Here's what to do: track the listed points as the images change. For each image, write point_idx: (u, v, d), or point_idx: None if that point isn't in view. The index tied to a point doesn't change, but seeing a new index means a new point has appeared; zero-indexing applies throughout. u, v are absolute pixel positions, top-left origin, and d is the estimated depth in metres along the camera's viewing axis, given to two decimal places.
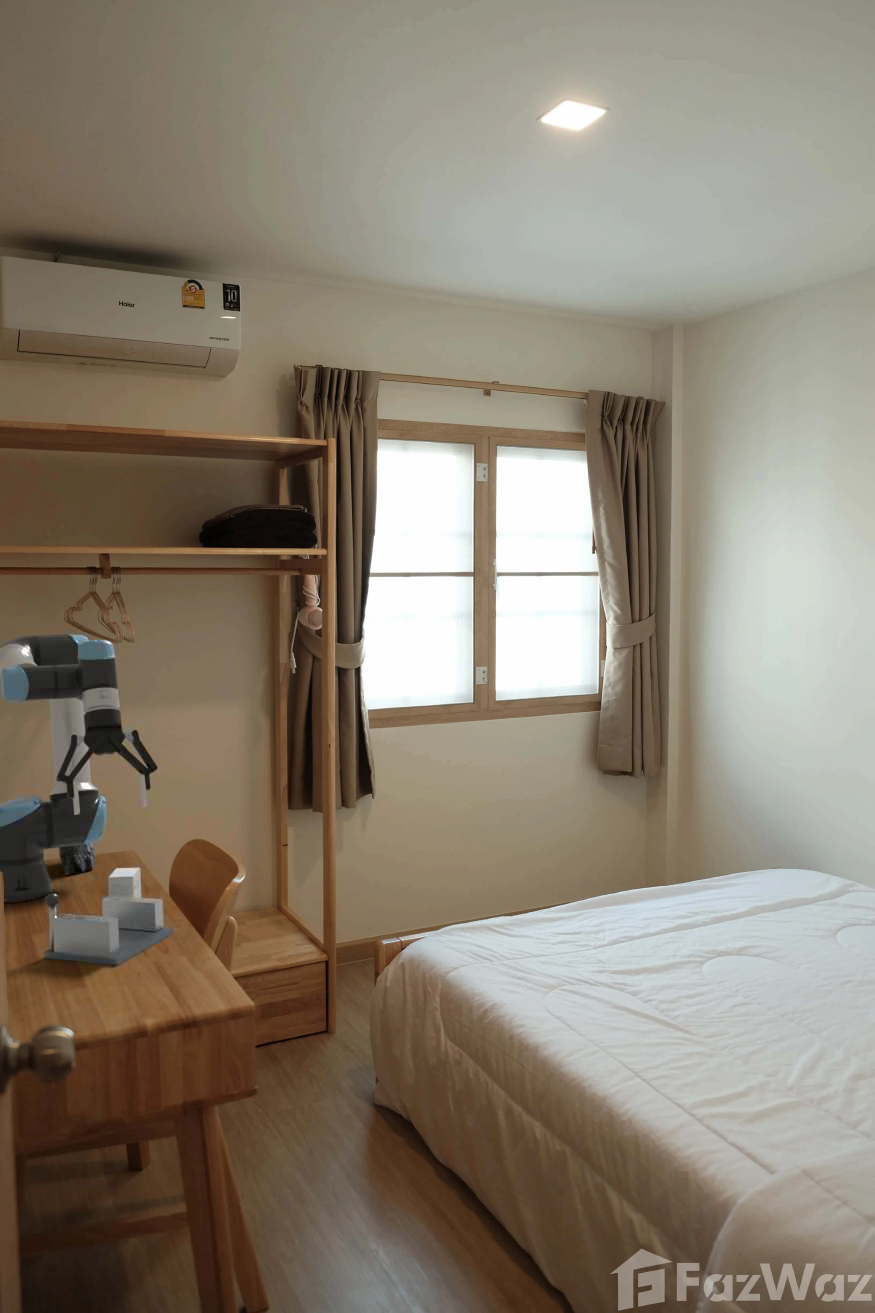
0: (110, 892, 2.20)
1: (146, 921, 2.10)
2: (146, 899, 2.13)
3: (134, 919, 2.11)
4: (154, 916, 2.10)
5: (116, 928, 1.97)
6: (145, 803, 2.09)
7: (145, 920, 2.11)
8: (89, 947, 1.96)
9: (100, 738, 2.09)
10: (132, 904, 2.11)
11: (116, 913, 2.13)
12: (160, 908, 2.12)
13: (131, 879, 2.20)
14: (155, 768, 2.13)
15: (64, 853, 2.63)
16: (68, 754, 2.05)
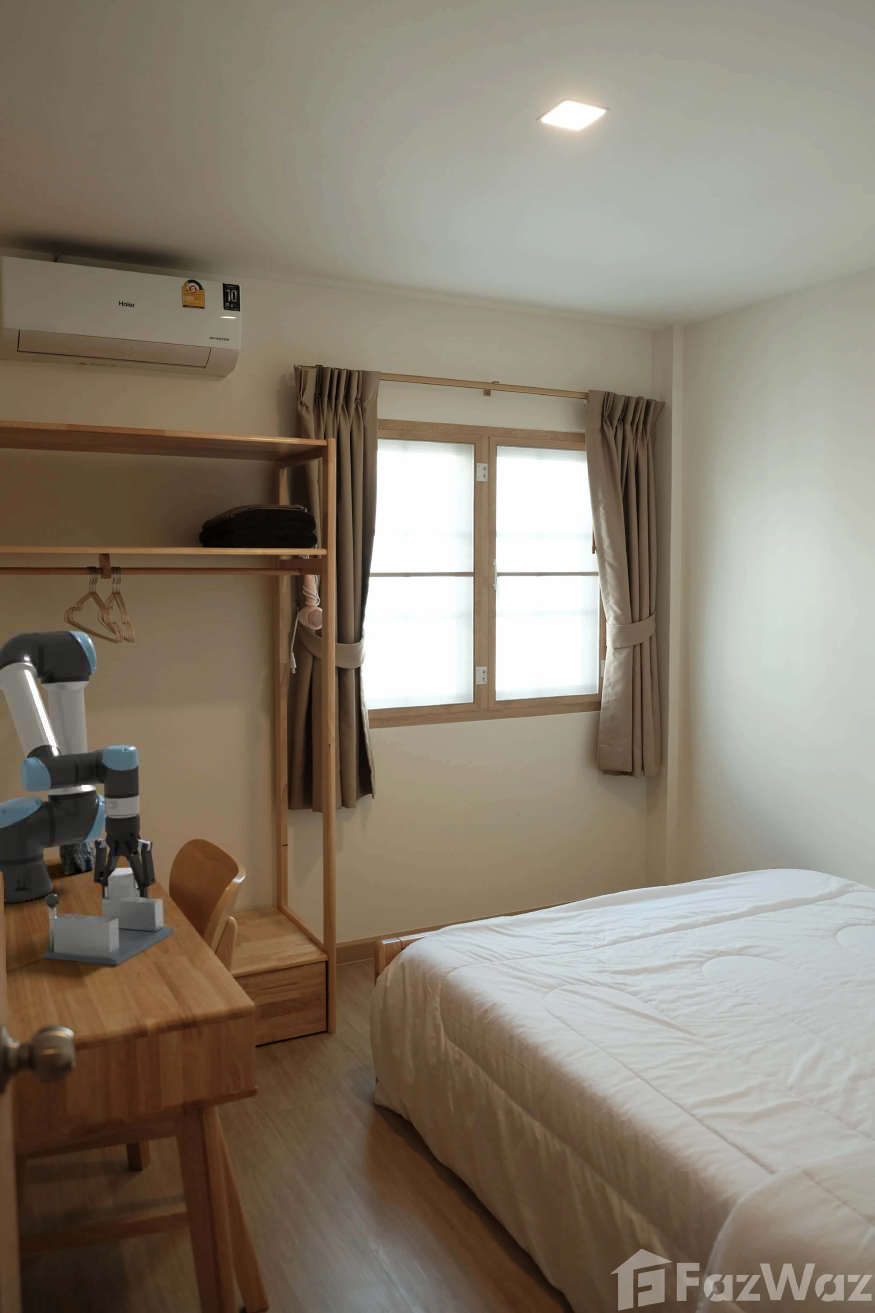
0: (110, 892, 2.20)
1: (146, 921, 2.10)
2: (146, 899, 2.13)
3: (134, 919, 2.11)
4: (154, 916, 2.10)
5: (116, 928, 1.97)
6: None
7: (145, 920, 2.11)
8: (89, 947, 1.96)
9: (113, 843, 2.22)
10: (132, 904, 2.11)
11: (116, 913, 2.13)
12: (160, 908, 2.12)
13: (131, 879, 2.20)
14: (147, 885, 2.21)
15: (64, 853, 2.63)
16: (96, 859, 2.24)
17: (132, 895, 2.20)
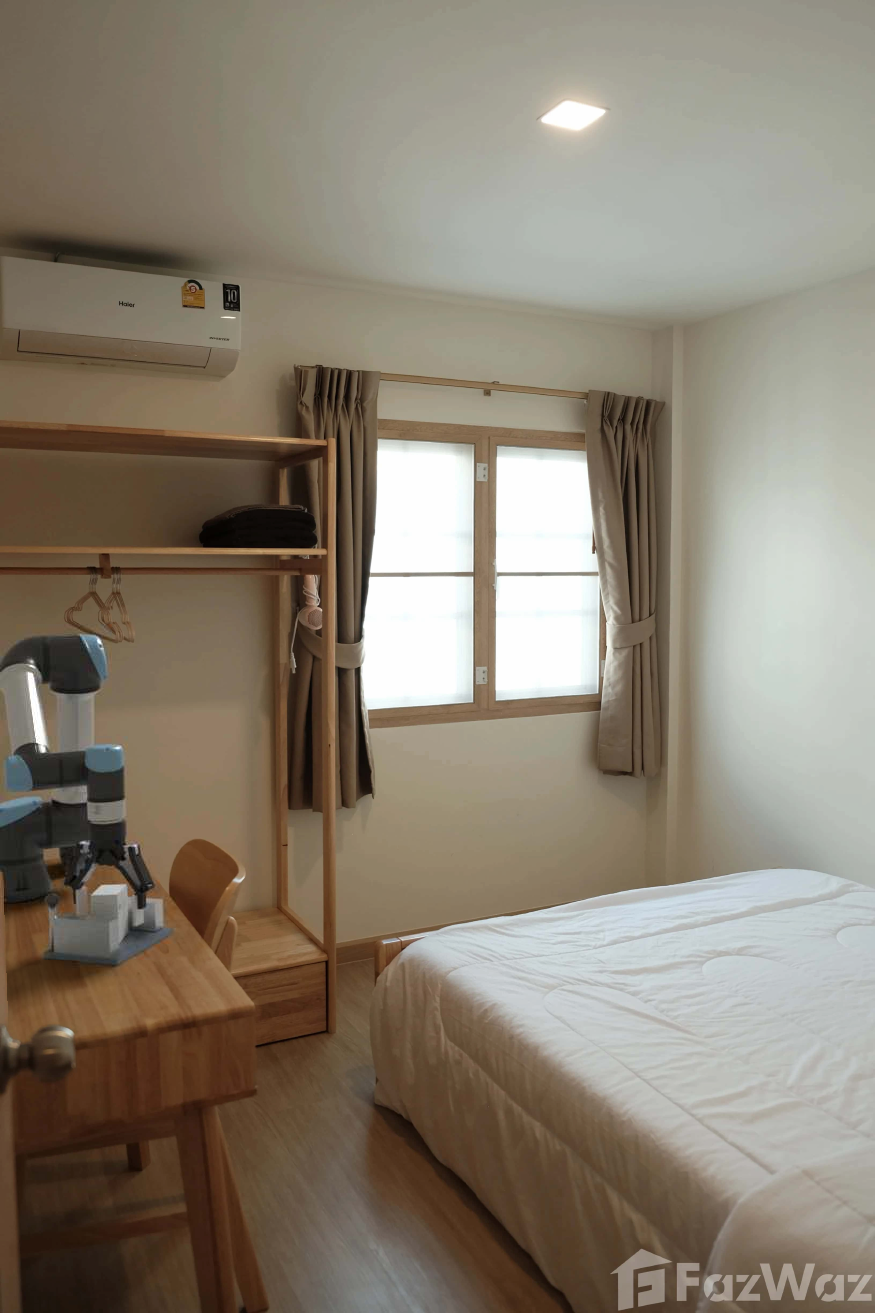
0: (92, 912, 2.01)
1: (146, 921, 2.10)
2: (146, 899, 2.13)
3: None
4: (154, 916, 2.10)
5: (116, 928, 1.97)
6: (134, 924, 2.02)
7: (145, 920, 2.11)
8: (89, 947, 1.96)
9: (97, 852, 2.03)
10: None
11: None
12: (160, 908, 2.12)
13: (115, 898, 2.01)
14: (145, 890, 2.01)
15: (64, 853, 2.63)
16: (73, 862, 2.06)
17: (116, 915, 2.02)
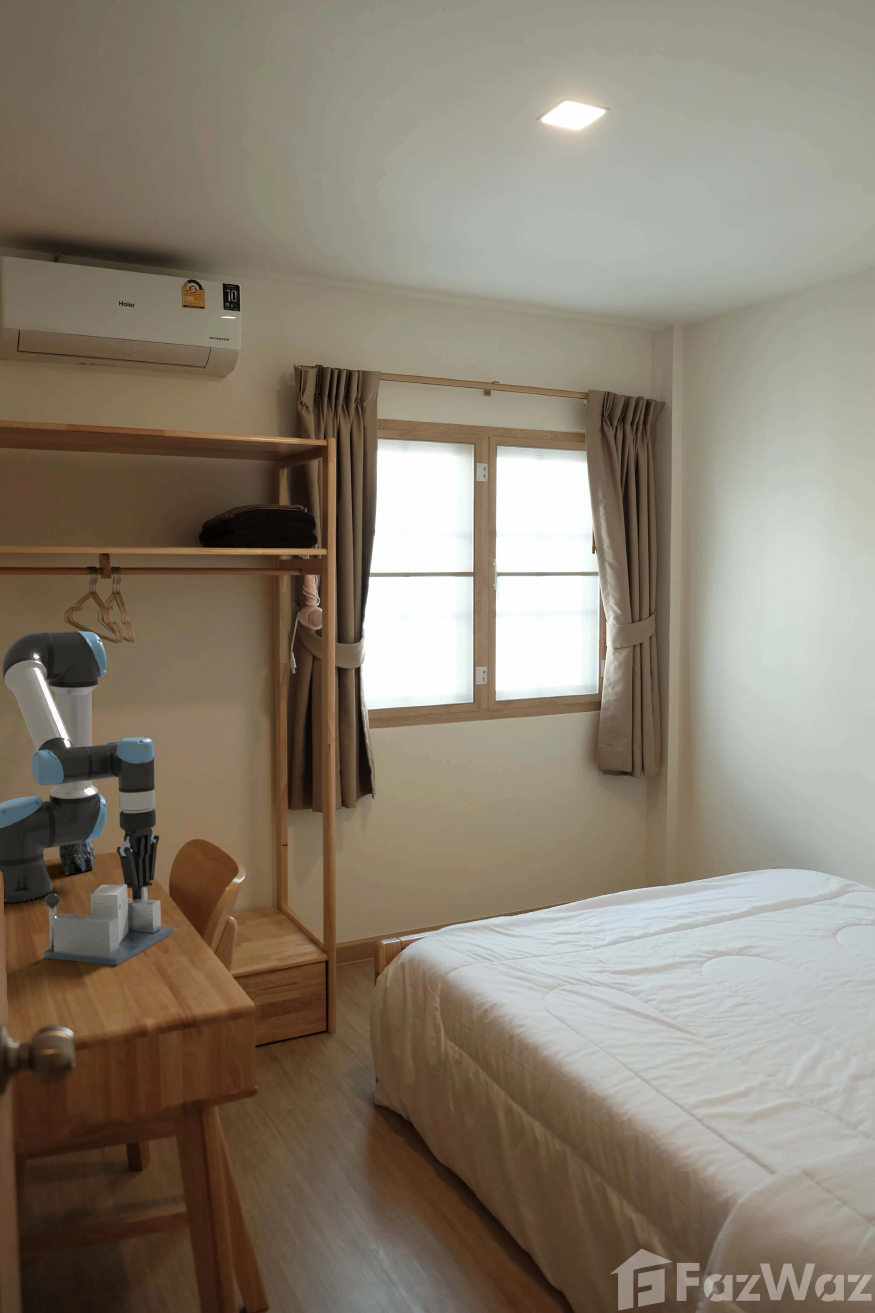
0: (92, 912, 2.01)
1: (144, 922, 2.10)
2: (144, 900, 2.12)
3: (132, 920, 2.10)
4: (152, 917, 2.09)
5: (116, 928, 1.97)
6: None
7: (142, 921, 2.10)
8: (89, 947, 1.96)
9: None
10: (130, 905, 2.10)
11: None
12: (158, 909, 2.11)
13: (115, 898, 2.01)
14: None
15: (64, 853, 2.63)
16: None
17: (116, 915, 2.02)
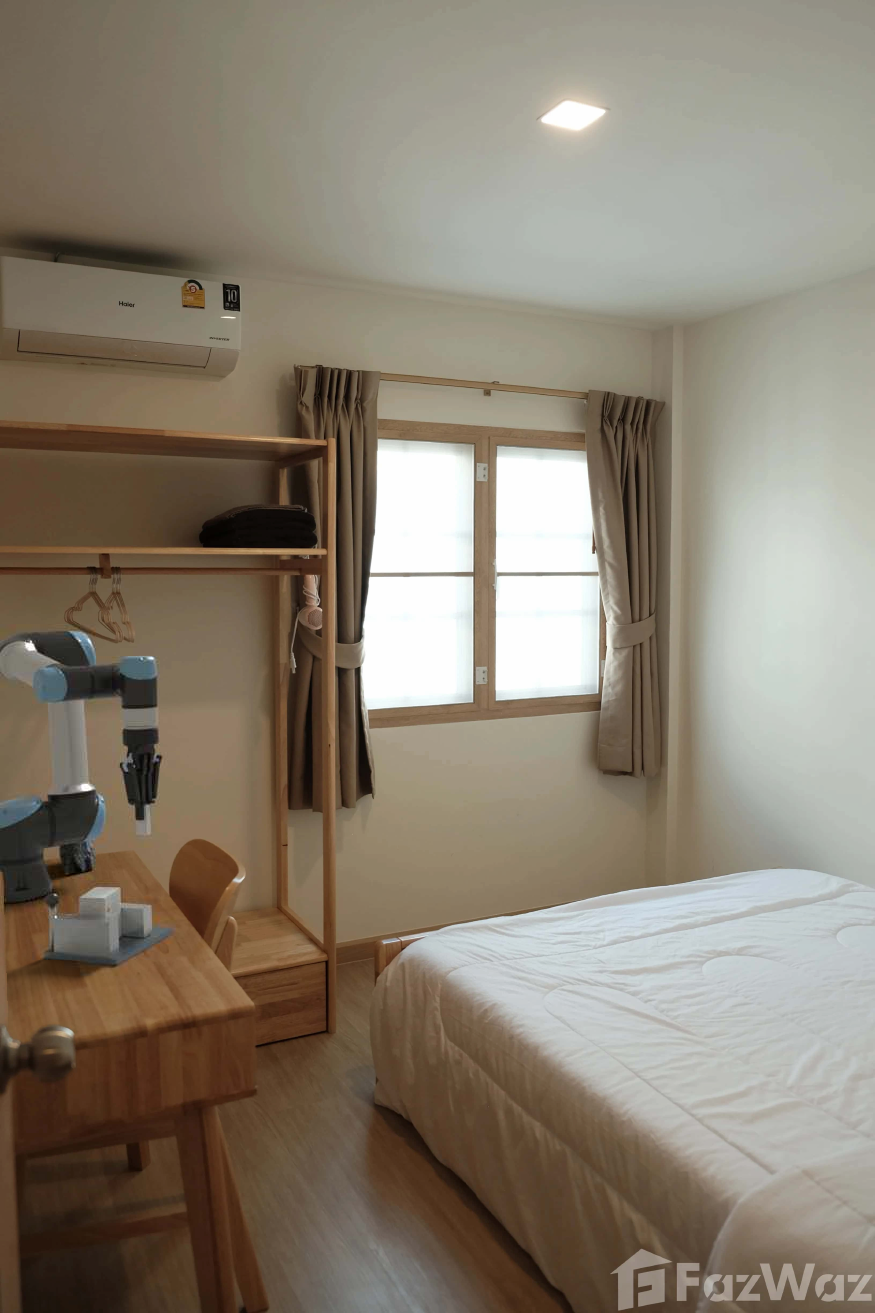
0: (81, 914, 2.00)
1: (134, 927, 2.06)
2: (135, 904, 2.09)
3: (122, 925, 2.07)
4: (142, 922, 2.06)
5: (116, 928, 1.97)
6: None
7: (133, 926, 2.06)
8: (89, 947, 1.96)
9: None
10: None
11: None
12: (149, 914, 2.08)
13: (102, 901, 1.99)
14: None
15: (64, 853, 2.63)
16: None
17: None
